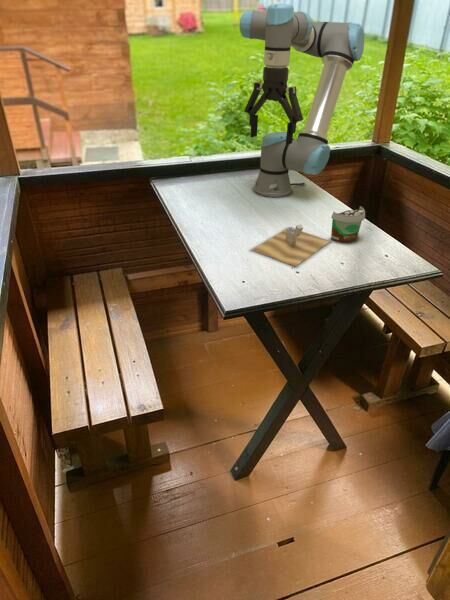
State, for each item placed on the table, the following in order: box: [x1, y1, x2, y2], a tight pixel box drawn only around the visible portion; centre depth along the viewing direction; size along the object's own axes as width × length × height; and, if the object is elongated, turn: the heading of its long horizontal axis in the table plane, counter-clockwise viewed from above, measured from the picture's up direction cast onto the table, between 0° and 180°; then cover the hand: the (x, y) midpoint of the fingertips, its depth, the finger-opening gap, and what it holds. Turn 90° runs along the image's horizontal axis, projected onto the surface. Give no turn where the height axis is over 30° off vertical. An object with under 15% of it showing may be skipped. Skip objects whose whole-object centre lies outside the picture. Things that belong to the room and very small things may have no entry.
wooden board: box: [251, 228, 331, 268], centre depth 143 cm, size 22×16×1 cm
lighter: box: [285, 224, 304, 246], centre depth 141 cm, size 7×2×8 cm, turn 23°
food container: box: [330, 206, 366, 244], centre depth 145 cm, size 12×6×10 cm, turn 117°
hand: (270, 140), depth 143 cm, fingers open, 13 cm apart
